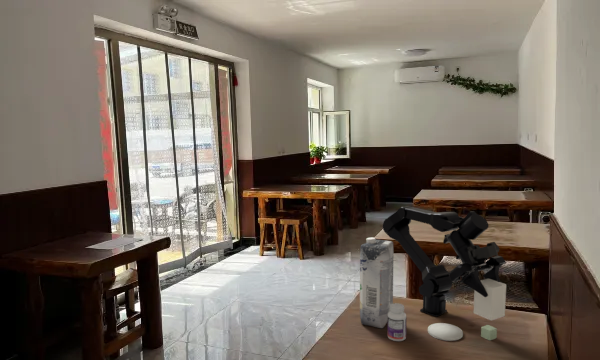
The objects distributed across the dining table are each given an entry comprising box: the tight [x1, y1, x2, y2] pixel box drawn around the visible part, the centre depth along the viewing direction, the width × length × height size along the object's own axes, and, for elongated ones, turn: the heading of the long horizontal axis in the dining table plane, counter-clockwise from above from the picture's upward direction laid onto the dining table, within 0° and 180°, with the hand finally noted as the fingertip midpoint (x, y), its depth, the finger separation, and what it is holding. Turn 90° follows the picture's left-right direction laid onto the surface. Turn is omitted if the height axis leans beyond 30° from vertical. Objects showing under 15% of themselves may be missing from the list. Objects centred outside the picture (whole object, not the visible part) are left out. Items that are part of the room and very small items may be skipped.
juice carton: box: [359, 236, 394, 329], centre depth 143 cm, size 9×10×27 cm
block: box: [480, 324, 498, 341], centre depth 133 cm, size 3×3×3 cm
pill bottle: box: [387, 302, 407, 342], centre depth 133 cm, size 5×5×10 cm
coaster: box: [427, 322, 464, 342], centre depth 136 cm, size 10×10×1 cm
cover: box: [473, 278, 507, 321], centre depth 132 cm, size 6×6×10 cm
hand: (494, 294), depth 130 cm, fingers closed on cover, 6 cm apart
